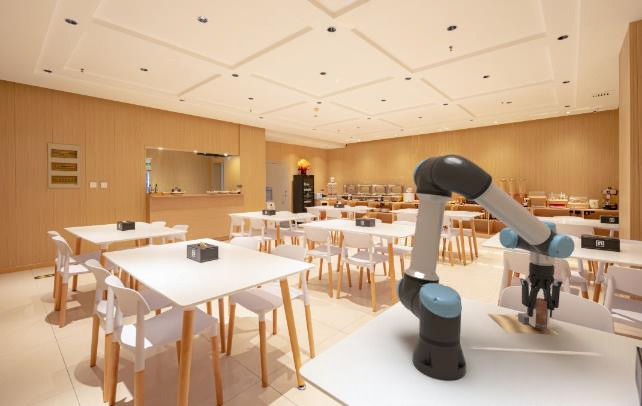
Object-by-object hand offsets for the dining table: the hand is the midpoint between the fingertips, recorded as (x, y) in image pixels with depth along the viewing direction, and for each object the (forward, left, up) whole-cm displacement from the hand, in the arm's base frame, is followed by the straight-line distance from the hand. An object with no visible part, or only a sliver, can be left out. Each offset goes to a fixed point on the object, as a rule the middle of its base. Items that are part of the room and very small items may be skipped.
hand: (538, 325), depth 113 cm
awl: (0, 0, 0) cm, 0 cm away
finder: (0, +6, -2) cm, 6 cm away
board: (-4, +5, -3) cm, 7 cm away
